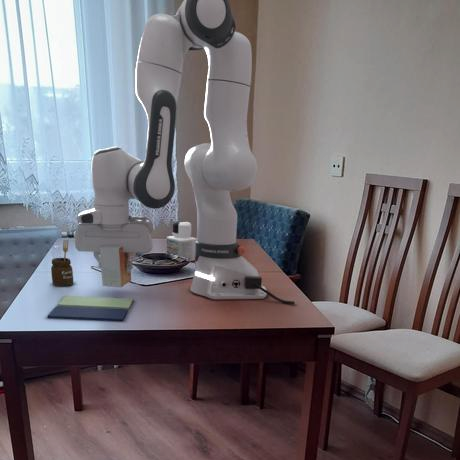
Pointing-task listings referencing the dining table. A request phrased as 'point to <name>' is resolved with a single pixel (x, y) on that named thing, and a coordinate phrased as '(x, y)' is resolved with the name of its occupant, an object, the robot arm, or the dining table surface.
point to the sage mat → (95, 302)
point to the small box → (114, 266)
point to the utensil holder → (62, 269)
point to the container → (182, 241)
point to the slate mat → (88, 313)
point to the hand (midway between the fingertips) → (115, 268)
